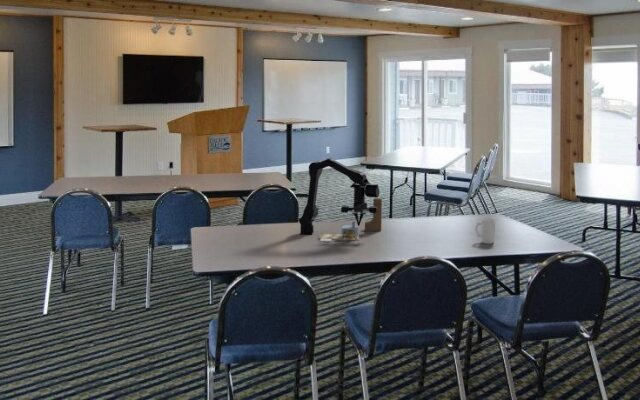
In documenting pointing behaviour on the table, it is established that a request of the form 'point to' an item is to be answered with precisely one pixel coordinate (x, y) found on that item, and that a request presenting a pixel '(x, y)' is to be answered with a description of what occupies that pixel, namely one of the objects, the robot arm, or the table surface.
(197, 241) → the table surface
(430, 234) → the table surface
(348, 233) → the block
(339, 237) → the board
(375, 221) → the wooden block
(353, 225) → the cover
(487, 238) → the mug
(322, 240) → the mat
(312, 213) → the robot arm
